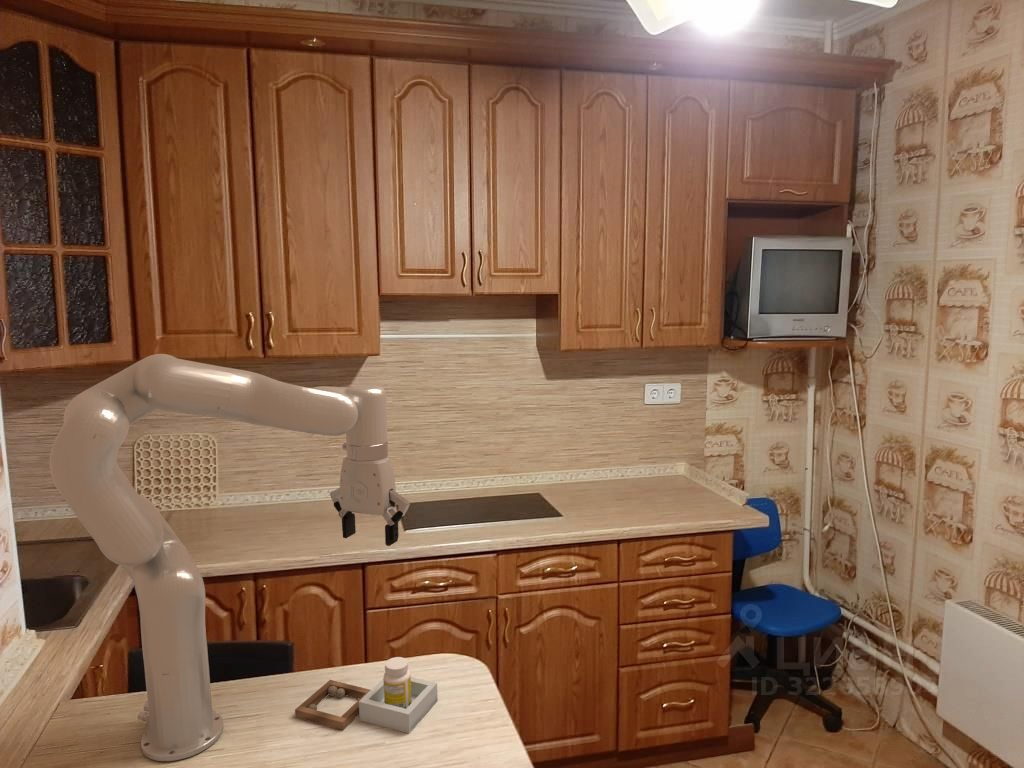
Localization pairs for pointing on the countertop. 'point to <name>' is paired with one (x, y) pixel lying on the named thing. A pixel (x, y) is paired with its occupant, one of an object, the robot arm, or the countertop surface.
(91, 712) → the countertop surface
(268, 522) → the countertop surface
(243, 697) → the countertop surface
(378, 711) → the grey square open box
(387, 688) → the supplement bottle
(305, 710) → the tray
